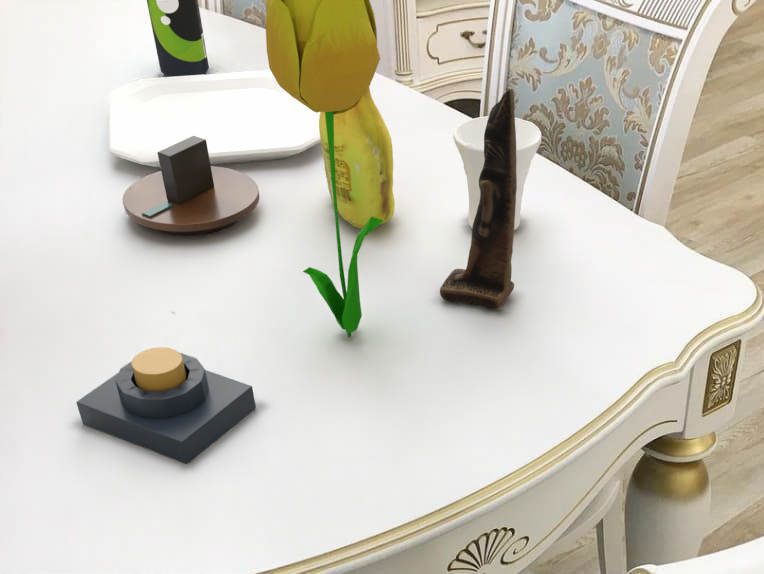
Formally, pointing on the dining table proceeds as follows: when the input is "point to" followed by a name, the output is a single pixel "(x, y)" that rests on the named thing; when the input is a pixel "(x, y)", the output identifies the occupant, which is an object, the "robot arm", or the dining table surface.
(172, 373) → the bell button
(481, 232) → the statue
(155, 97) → the plate
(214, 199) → the turntable
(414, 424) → the dining table surface
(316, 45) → the flower
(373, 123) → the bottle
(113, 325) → the dining table surface
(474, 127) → the cup
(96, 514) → the dining table surface
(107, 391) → the grey button base
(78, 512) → the dining table surface
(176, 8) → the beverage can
